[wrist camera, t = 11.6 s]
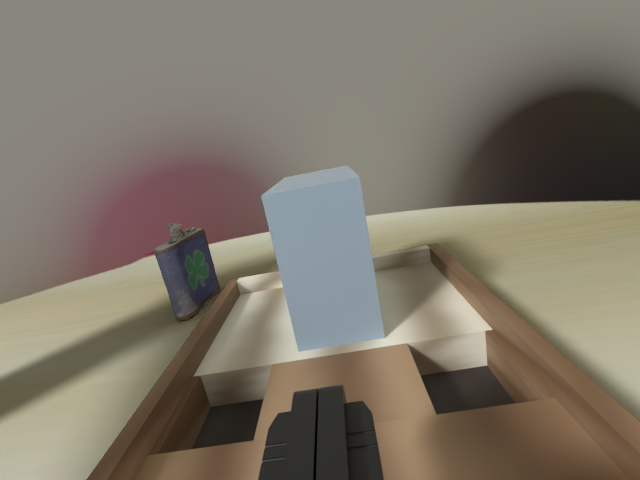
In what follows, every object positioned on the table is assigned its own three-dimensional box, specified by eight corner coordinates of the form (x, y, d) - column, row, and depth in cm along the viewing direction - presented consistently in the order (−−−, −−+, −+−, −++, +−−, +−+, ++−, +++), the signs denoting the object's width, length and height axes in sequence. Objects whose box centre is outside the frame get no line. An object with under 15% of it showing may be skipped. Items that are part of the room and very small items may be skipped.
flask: (191, 320, 39) (162, 232, 36) (168, 323, 39) (138, 236, 36) (224, 286, 47) (203, 213, 45) (206, 289, 48) (183, 217, 45)
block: (298, 351, 23) (261, 195, 20) (307, 283, 35) (284, 177, 32) (384, 338, 23) (359, 176, 20) (365, 273, 34) (347, 165, 31)
